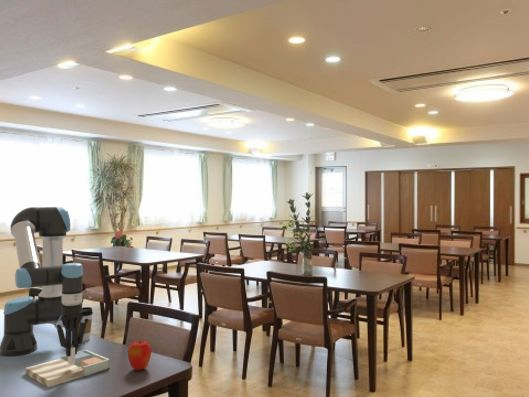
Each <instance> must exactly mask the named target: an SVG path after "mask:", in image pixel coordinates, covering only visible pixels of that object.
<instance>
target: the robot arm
mask: <svg viewBox="0 0 529 397" xmlns="http://www.w3.org/2000/svg"><path fill="white" fill-rule="evenodd" d="M70 231H71V218H70V214H69V211H68V210H67V208H66V207H60V206H54V207H53V206H52V207H51V206H50V207H44V206H43V207H42V206H40V207H39V206H36V207H35V206H33V207H27V208H25V209H22V210H21V211H19V212H18V213H17V214H16V215H15V216H14V217H13V219H12V221H11V223H10V234H11V235H12V237H13V238H14V242H15V248H16V255H17V259H18V260H17V262H18V267H19V268H18V269H16V270H15V274H14V280H15V281H14V282H15V287H16V288H18V289H29V288H38V287H39V288H40V287H41V291H40V293H38V296H37V298H36V299H34V297H33V296H31V295H29V296H21V297H15V298H13V299H10V300H8V301H6V302H5V304H4V307H3V315H4V316H3V336H2V340H1V342H0V355H2V356H5V357H8V356H9V357H11V356H15V357H16V356H21V355H27V354H30V353H33V352H34V351H36V350H37V349H38V341H37V339H36V335H35V333H34V326H38V325H46V324H54V328H55V329H56V330H57V336H58V341H59V344H60V347H61V348H64V349H65V355H66V356H68V364H70V365H73V364H75V355H76V354H77V352H78V347H79V346H80V345H82V343H83V341H82V340H83V336H84V332H85V327H86V324H87V322H88V319H87V318H84V317H83V315H82V308H83V303H82V302H83V280H84V277H83V276H84V271H83V270H84V269H83V264H81V263H79V262H68V263H65V264H64V263H63V256H64V255H63V248H64V247H63V245H64V244H63V243H64V242H63V241H64V239H65V238H66V236H67V233H69V232H70ZM35 233H36V234H37V233H38V237H39V238H40V239H41V240H42V253H41V254H42V258H41V259H42V260H41V261H42V262H41V261H40V256H39V250H38V248H37V241H36V237H35ZM41 263H42V264H41ZM80 321H81V323H80ZM79 323H80V326H79ZM63 326H64V328H63ZM78 328H79V331H78ZM64 330H65V332H64Z"/></svg>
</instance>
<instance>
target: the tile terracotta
mask: <svg viewBox="0 0 529 397" xmlns="http://www.w3.org/2000/svg"><path fill="white" fill-rule="evenodd" d="M101 361H103V360H101V359H99V358H96V357H94V358H90V359H86V360H83V361H81V368H82V369H83V367H84V366H87V365H90V364H94V363H97V362H101Z"/></svg>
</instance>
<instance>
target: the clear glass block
mask: <svg viewBox="0 0 529 397" xmlns="http://www.w3.org/2000/svg"><path fill="white" fill-rule="evenodd" d="M86 359H90V355H89V354H87V353H84V352H80V353H77V354H76V355H75V364H74V365H76V366H78V365H81V361H83V360H86Z"/></svg>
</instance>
